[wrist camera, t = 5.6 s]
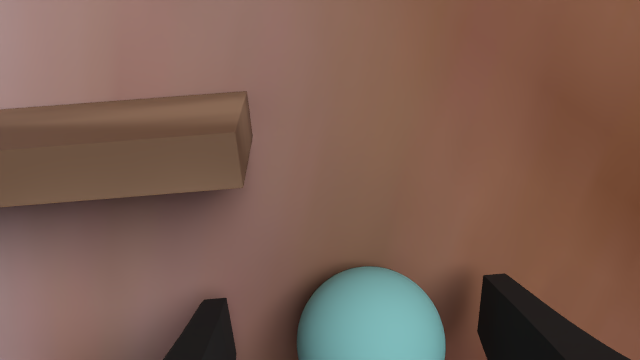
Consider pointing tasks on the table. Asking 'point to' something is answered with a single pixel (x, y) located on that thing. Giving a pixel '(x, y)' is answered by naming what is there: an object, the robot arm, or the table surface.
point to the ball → (370, 319)
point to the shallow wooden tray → (124, 148)
